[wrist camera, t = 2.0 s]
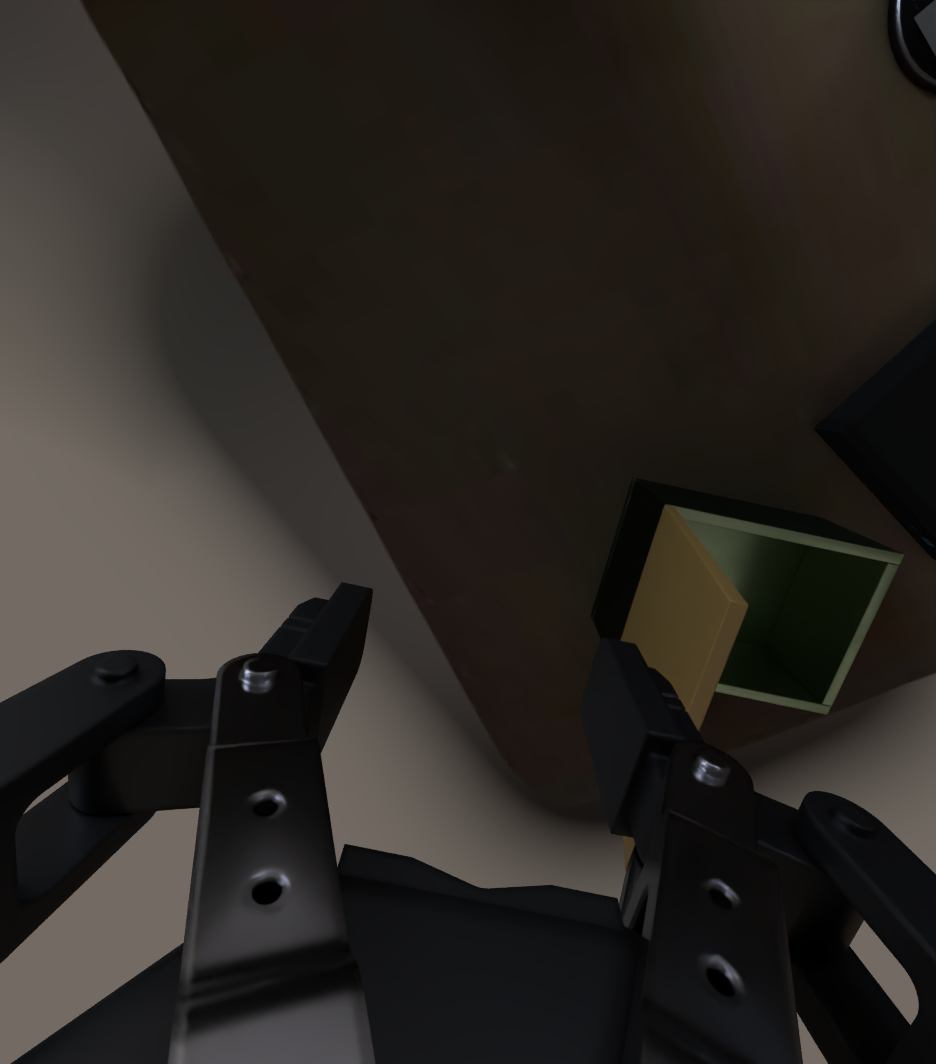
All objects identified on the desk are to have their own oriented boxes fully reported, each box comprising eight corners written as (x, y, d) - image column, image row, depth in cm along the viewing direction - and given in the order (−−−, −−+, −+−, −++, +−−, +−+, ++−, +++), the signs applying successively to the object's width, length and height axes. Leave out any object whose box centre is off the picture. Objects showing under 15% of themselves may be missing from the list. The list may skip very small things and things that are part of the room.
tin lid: (750, 605, 16) (730, 600, 16) (640, 878, 20) (624, 872, 20) (675, 506, 31) (664, 504, 31) (618, 675, 34) (609, 672, 34)
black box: (822, 517, 39) (905, 554, 31) (765, 652, 42) (827, 715, 34) (632, 477, 39) (667, 504, 31) (590, 615, 42) (613, 671, 34)
